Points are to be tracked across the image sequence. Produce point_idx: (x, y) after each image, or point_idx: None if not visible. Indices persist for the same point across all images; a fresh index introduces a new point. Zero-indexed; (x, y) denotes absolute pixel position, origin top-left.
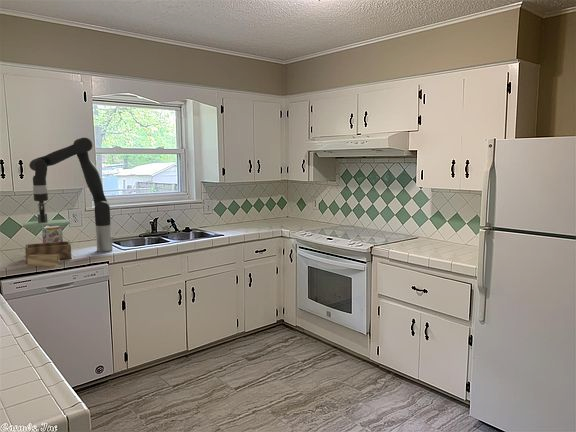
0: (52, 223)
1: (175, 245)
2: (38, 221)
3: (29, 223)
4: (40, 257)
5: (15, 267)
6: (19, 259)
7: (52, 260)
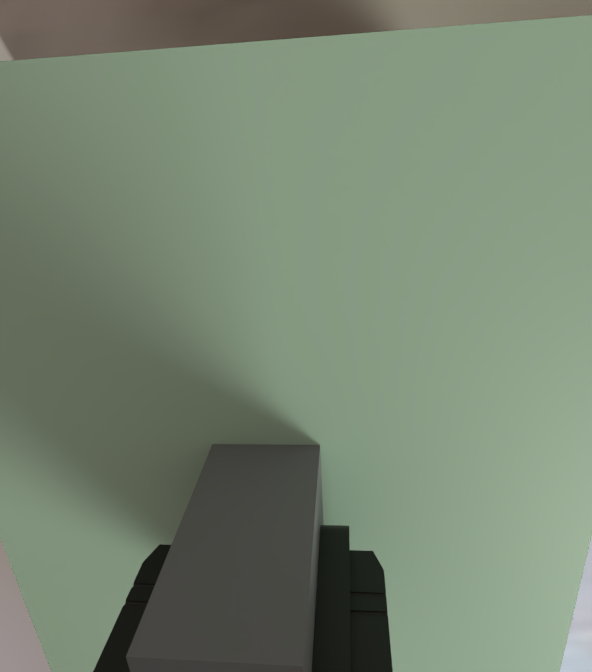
0: (43, 643)
1: None
2: (204, 477)
3: (218, 249)
4: None
5: (59, 17)
6: (454, 12)
7: None
